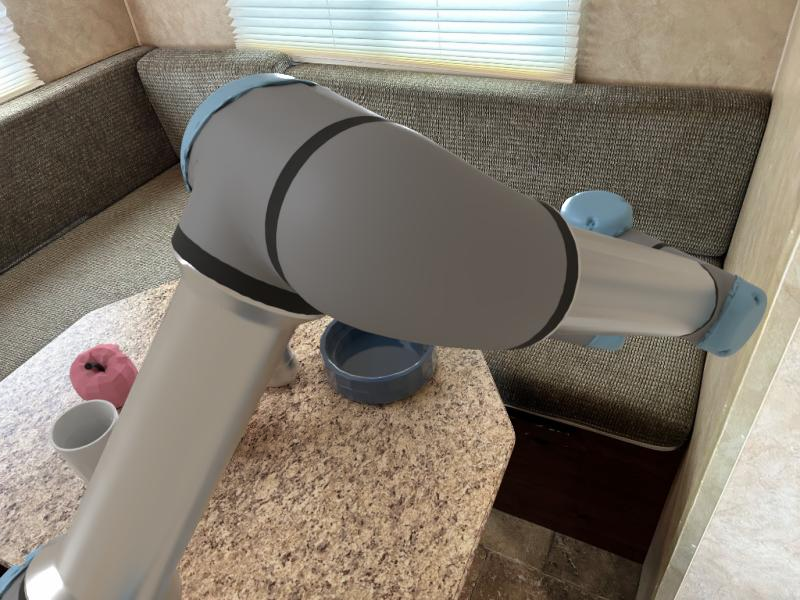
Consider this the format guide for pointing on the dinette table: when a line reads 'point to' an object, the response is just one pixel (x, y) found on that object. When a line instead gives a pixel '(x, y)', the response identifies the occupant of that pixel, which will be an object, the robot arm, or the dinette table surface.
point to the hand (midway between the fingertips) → (342, 264)
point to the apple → (103, 374)
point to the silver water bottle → (285, 369)
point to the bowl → (374, 364)
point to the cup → (83, 435)
